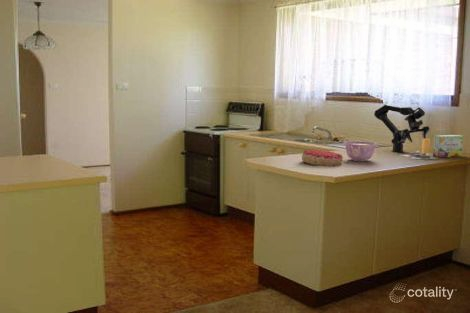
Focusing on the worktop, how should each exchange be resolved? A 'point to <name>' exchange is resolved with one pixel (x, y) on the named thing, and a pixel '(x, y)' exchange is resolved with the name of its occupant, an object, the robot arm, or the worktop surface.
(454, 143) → the snack box
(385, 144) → the worktop surface
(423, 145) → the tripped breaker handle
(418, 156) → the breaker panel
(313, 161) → the cake
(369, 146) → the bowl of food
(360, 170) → the worktop surface
